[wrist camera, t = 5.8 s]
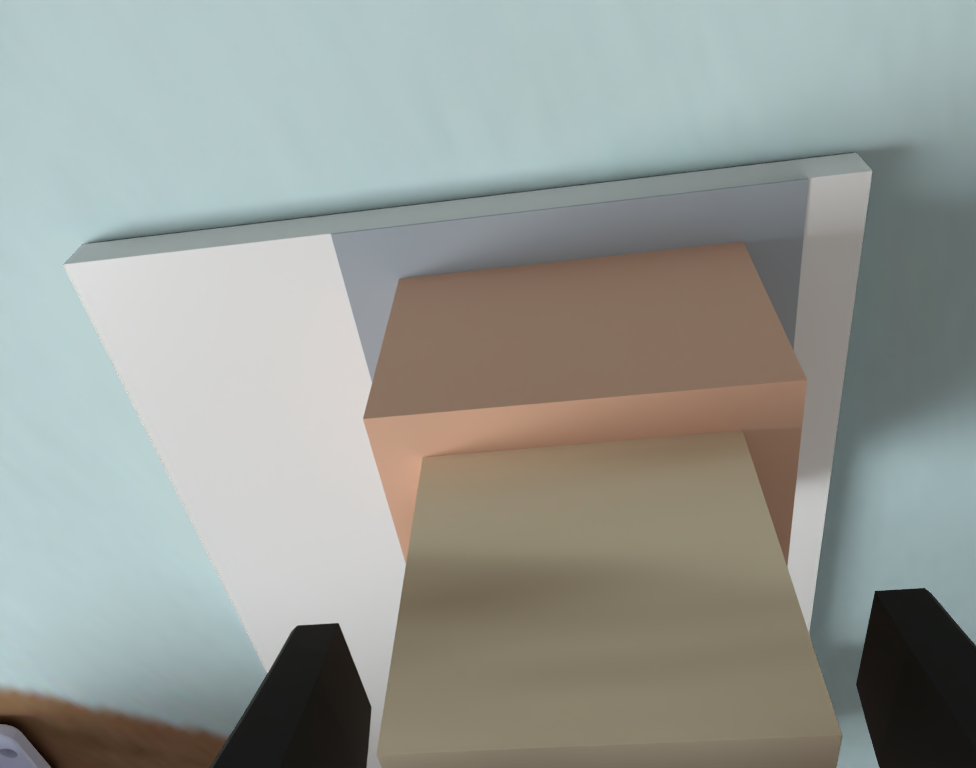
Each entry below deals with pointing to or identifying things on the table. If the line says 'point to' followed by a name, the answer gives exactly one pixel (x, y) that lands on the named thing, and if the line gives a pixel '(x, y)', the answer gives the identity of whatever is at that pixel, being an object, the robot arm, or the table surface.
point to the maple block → (601, 615)
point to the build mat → (356, 348)
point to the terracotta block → (586, 365)
